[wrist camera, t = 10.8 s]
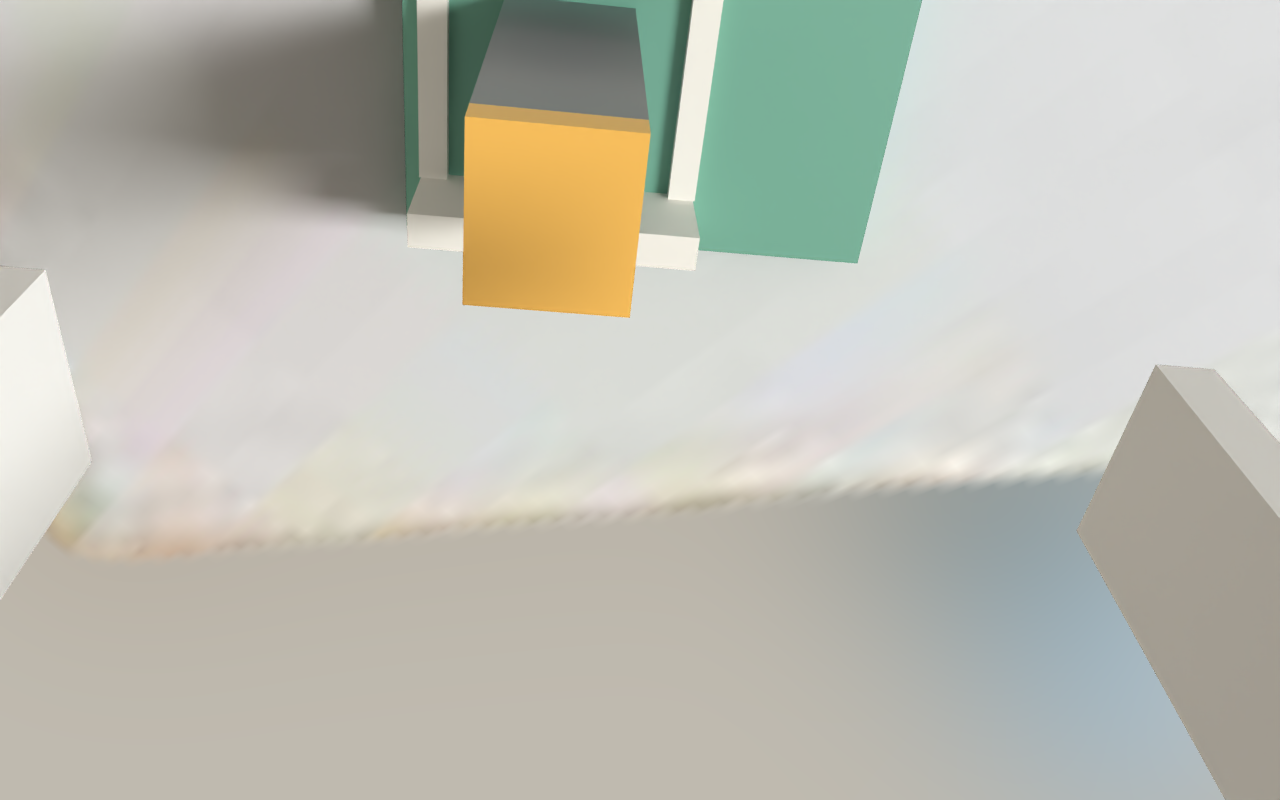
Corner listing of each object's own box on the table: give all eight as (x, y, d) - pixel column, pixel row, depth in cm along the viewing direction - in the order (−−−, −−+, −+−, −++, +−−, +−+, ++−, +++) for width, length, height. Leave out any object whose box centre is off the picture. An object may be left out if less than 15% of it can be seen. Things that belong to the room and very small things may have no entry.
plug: (506, -6, 27) (464, 116, 19) (635, 8, 28) (650, 133, 19) (500, 159, 30) (461, 329, 22) (619, 170, 30) (626, 341, 22)
